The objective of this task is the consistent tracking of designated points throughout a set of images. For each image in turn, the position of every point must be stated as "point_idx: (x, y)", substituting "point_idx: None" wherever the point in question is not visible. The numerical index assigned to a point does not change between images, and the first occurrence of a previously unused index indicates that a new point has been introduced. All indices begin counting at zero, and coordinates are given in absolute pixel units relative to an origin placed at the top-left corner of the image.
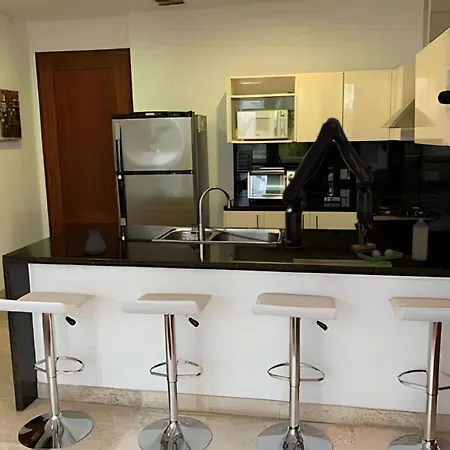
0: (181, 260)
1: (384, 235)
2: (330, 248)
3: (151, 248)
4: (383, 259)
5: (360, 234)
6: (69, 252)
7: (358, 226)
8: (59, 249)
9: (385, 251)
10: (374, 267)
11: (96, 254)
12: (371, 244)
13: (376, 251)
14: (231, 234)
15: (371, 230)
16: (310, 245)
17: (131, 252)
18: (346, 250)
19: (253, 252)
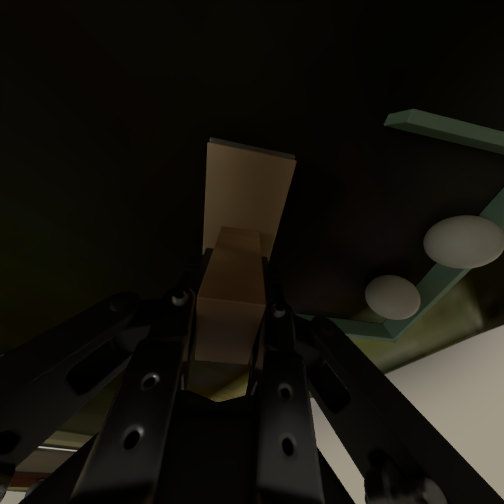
0: None
1: None
2: (95, 300)
3: (20, 464)
4: (426, 286)
5: (224, 360)
6: None
7: (5, 454)
8: (17, 485)
9: (450, 264)
10: (421, 356)
11: None
12: (259, 186)
13: (408, 317)
14: None
15: (419, 435)
16: (4, 321)
17: (50, 472)
18: (167, 276)
19: (94, 423)
